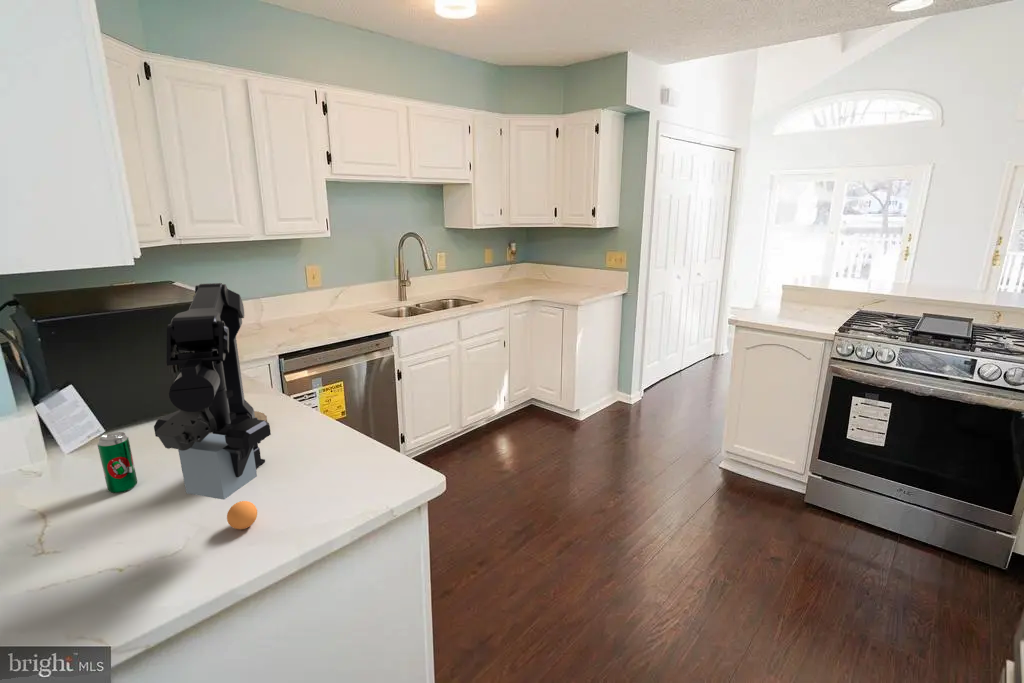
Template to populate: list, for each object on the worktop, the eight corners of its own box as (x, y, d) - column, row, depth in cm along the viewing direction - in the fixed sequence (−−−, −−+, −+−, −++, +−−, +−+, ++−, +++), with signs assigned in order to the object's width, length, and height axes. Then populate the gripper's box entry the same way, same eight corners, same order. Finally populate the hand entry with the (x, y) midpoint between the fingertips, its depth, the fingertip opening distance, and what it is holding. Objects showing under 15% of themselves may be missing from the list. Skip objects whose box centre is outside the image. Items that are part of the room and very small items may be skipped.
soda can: (118, 482, 108) (107, 431, 105) (143, 481, 108) (133, 430, 105) (102, 495, 103) (90, 442, 100) (128, 494, 103) (116, 441, 100)
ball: (233, 494, 94) (243, 511, 96) (216, 516, 90) (227, 533, 92) (257, 496, 93) (266, 513, 96) (241, 519, 89) (251, 536, 92)
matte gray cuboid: (186, 493, 85) (177, 446, 83) (221, 470, 92) (214, 427, 90) (224, 499, 83) (216, 452, 81) (256, 476, 91) (250, 432, 88)
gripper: (114, 401, 77) (133, 490, 81) (214, 414, 73) (229, 507, 77) (176, 378, 88) (190, 458, 92) (267, 388, 84) (277, 471, 88)
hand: (219, 473), depth 87 cm, fingers closed on matte gray cuboid, 8 cm apart
